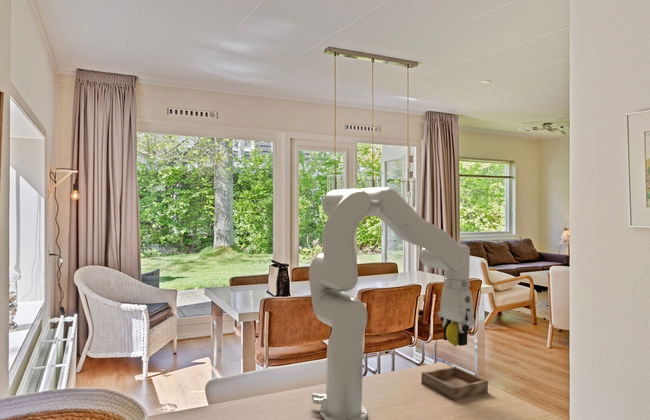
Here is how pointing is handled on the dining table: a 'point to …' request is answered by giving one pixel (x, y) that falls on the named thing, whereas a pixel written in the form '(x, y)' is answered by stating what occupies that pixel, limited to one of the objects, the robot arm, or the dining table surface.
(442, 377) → the bin
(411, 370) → the dining table surface
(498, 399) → the dining table surface
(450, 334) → the lemon
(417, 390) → the dining table surface
